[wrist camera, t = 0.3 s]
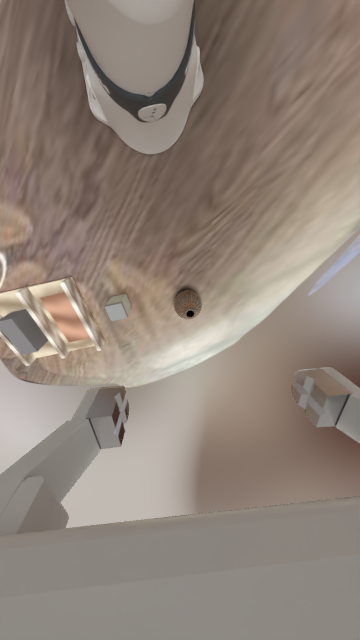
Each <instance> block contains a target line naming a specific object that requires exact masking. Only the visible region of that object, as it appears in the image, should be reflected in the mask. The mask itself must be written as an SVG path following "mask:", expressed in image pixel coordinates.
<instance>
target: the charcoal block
mask: <svg viewBox="0 0 360 640" xmlns="http://www.w3.org/2000/svg"><path fill="white" fill-rule="evenodd" d="M0 329H1V330H2V332H3V333H4V334H5V335H6V336H7V337H8V338H9V340H10V341H11V342H12V343H13V344H14V345H15V347H16V348H17V349H18V350H19V351H20V352H21V354H22V355H24V354H29V353H34V352H38V351H39V350H40V349H41V347H42V346H43V345H44V344H45V343H46V342H47V341H48V339H47V337H46V336H45V335H44V333H43V332H42V330H41V329H40V328H39V326H38V325H37V324H36V322H35V321H34V319H33V318H32V317H31V315H30V314H29V312H28V311H27V310H26V309H24V310H20V311H15V312H11V313H9V314H8V315H6V316H4V317H3V318H1V319H0Z"/></svg>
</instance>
